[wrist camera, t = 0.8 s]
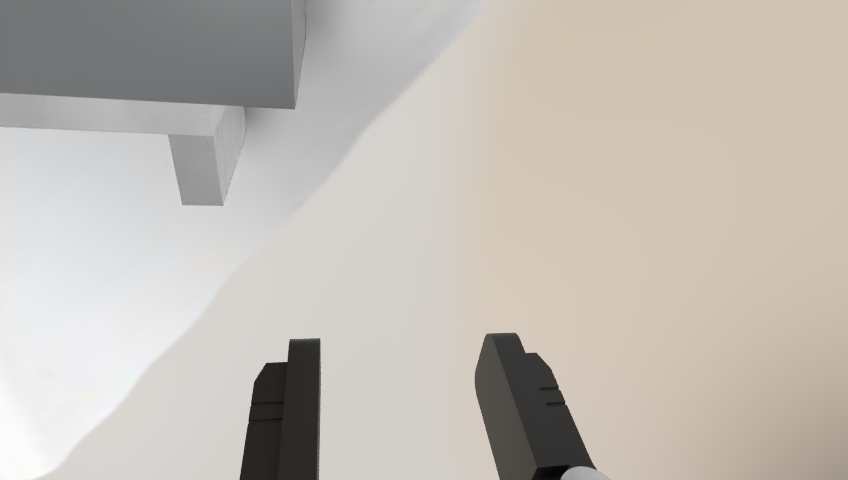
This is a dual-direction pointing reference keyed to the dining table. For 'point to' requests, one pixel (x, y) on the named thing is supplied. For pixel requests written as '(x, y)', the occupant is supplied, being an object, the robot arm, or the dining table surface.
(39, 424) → the dining table surface
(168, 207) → the dining table surface
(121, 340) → the dining table surface
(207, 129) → the battery door
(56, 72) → the camera housing
